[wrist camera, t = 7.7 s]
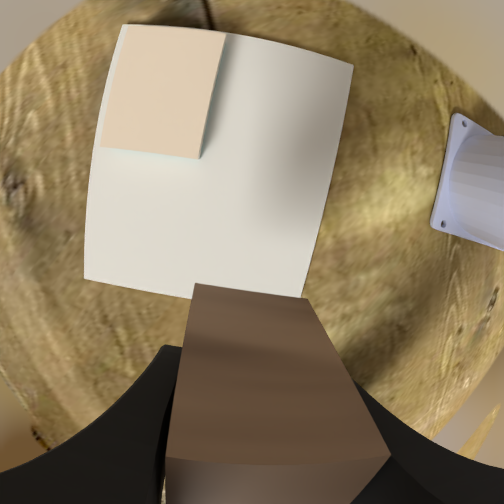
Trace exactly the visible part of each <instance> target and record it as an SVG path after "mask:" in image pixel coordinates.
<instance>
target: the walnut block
mask: <svg viewBox="0 0 504 504" xmlns="http://www.w3.org/2000/svg"><path fill="white" fill-rule="evenodd" d="M390 456H391V453H390V451H389V449H388V447H387V445H386V443H385V442H384V440H383V438H382V436H381V434H380V432H379V430H378V428H377V426H376V424H375V422H374V420H373V418H372V417H371V415H370V413H369V411H368V409H367V407H366V405H365V403H364V401H363V400H362V398H361V396H360V394H359V392H358V390H357V388H356V386H355V385H354V383H353V381H352V379H351V377H350V375H349V373H348V372H347V370H346V368H345V366H344V364H343V362H342V360H341V359H340V357H339V355H338V353H337V351H336V349H335V348H334V346H333V344H332V342H331V340H330V339H329V337H328V335H327V333H326V331H325V329H324V328H323V326H322V324H321V322H320V320H319V319H318V317H317V315H316V313H315V311H314V310H313V308H312V306H311V304H310V303H309V301H308V299H306V298H298V297H290V296H282V295H275V294H268V293H261V292H253V291H246V290H240V289H233V288H226V287H219V286H213V285H206V284H200V283H195V285H194V290H193V295H192V300H191V305H190V310H189V315H188V320H187V325H186V331H185V336H184V342H183V347H182V353H181V358H180V364H179V370H178V376H177V382H176V388H175V394H174V401H173V407H172V414H171V420H170V427H169V434H168V441H167V449H166V456H165V491H166V504H350V503H351V502H352V501H353V500H354V499H355V497H356V496H357V495H358V494H359V493H360V492H361V491H362V490H363V489H364V487H365V486H366V485H367V484H368V483H369V482H370V480H371V479H372V478H373V477H374V476H375V474H376V473H377V472H378V471H379V470H380V468H381V467H382V466H383V465H384V463H385V462H386V461H387V459H388V458H389V457H390Z"/></svg>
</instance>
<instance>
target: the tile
mask: <svg viewBox="0 0 504 504" xmlns="http://www.w3.org/2000/svg"><path fill="white" fill-rule="evenodd" d="M225 45H226V33H220V32H213V31H205V30H196V29H187V28H175V27H161V26H128V29H127V32H126V35H125V38H124V42H123V45H122V48H121V52H120V55H119V59H118V63H117V66H116V70H115V74H114V78H113V82H112V86H111V91H110V95H109V100H108V104H107V109H106V114H105V119H104V124H103V130H102V136H101V142H100V147H107V148H116V149H125V150H133V151H142V152H149V153H157V154H164V155H171V156H178V157H184V158H191V159H197V160H198V159H200V157H201V152H202V147H203V142H204V137H205V132H206V127H207V122H208V118H209V113H210V108H211V104H212V99H213V95H214V91H215V86H216V82H217V78H218V73H219V69H220V65H221V61H222V57H223V53H224V49H225Z"/></svg>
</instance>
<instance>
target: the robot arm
mask: <svg viewBox="0 0 504 504" xmlns="http://www.w3.org/2000/svg"><path fill="white" fill-rule="evenodd" d="M462 121H463V123H464V125H462ZM442 221H443V225H442V226H441V222H442ZM430 225H431V227H432V228H434V229H436V230H439V231H443V232H446V233H449V234H452V235H456V236H459V237H462V238H465V239H468V240H471V241H475V242H478V243H481V244H484V245H487V246H490V247H493V248H496V249H499V250H501V251H504V136H495V135H494V134H492V133H491V132H489V131H488V130H486V129H485V128H483V127H481V126H480V125H478V124H477V123H475V122H473V121H472V120H470V119H468V118H467V117H465V116H463V115H462V114H460V113H455V114H453V115H452V117H451V124H450V131H449V137H448V143H447V148H446V154H445V159H444V164H443V169H442V174H441V178H440V183H439V187H438V191H437V196H436V200H435V204H434V208H433V211H432V215H431V219H430ZM181 353H182V347H177V346H171V345H164V346H162V347H161V348H160V350H159V352H158V353H157V355H156V356H155V358H154V359H153V360H152V362H151V363H150V364H149V366H148V367H147V368H146V369H145V371H144V372H143V373H142V374H141V375H140V377H139V378H138V379H137V380H136V381H135V382H134V384H133V385H132V386H131V387H130V388H129V389H128V390H127V391H126V392H125V393H124V394H123V395H122V396H121V397H120V398H119V399H118V400H117V401H116V402H115V403H114V404H113V405H112V406H111V407H110V408H109V409H108V410H106V411H105V412H104V413H103V414H102V415H101V416H99V417H98V418H97V419H96V420H95V421H93V422H92V423H91V424H90V425H88V426H87V427H86V428H84V429H83V430H81V431H80V432H78V433H77V434H76V435H74V436H73V437H71V438H70V439H68V440H67V441H65V442H64V443H62V444H60V445H59V446H57V447H55V448H53V449H52V450H50V451H48V452H46V453H44V454H42V455H40V456H39V457H36V458H35V459H33V460H31V461H29V462H26V463H24V464H22V465H20V466H17V467H15V468H12V469H9V470H6V471H4V472H1V473H0V504H161V499H162V490H163V484H164V479H165V456H166V449H167V441H168V434H169V427H170V420H171V414H172V407H173V401H174V394H175V388H176V382H177V376H178V370H179V364H180V358H181ZM351 379H352V378H351ZM352 381H353V383H354V385H355V386H356V388H357V390H358V392H359V394H360V396H361V398H362V400H363V401H364V403H365V405H366V407H367V409H368V411H369V413H370V415H371V417H372V418H373V420H374V422H375V424H376V426H377V428H378V430H379V432H380V434H381V436H382V438H383V440H384V442H385V443H386V445H387V447H388V449H389V451H390V453H391V456H390V457H389V458H388V459H387V461H386V462H385V463H384V465H383V466H382V467H381V468H380V470H379V471H378V472H377V473H376V474H375V476H374V477H373V478H372V479H371V480H370V482H369V483H368V484H367V485H366V486H365V487H364V489H363V490H362V491H361V492H360V493H359V494H358V495H357V496H356V497H355V499H354V500H353V501H352V502H351V503H350V504H504V469H502V468H498V467H493V466H489V465H486V464H482V463H479V462H477V461H474V460H471V459H468V458H466V457H463V456H461V455H459V454H456V453H454V452H452V451H450V450H448V449H446V448H444V447H442V446H440V445H438V444H436V443H434V442H432V441H431V440H429V439H427V438H426V437H424V436H423V435H421V434H419V433H418V432H416V431H415V430H413V429H412V428H410V427H409V426H407V425H406V424H405V423H403V422H402V421H401V420H399V419H398V418H397V417H396V416H394V415H393V414H392V413H390V412H389V411H388V410H387V409H386V408H384V407H383V406H382V405H381V404H380V403H378V402H377V401H376V400H375V399H374V398H373V397H372V396H370V395H369V394H368V393H367V392H366V391H365V390H364V389H363V388H362V387H361V386H359V385H358V384H357V383H356V382H355V381H354V380H353V379H352Z"/></svg>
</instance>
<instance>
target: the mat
mask: <svg viewBox="0 0 504 504" xmlns="http://www.w3.org/2000/svg"><path fill="white" fill-rule="evenodd" d="M128 26H161V25H128V24H125V25H122V29H121V32H120V35H119V38H118V41H117V45H116V48H115V51H114V55H113V58H112V62H111V66H110V70H109V73H108V77H107V82H106V86H105V90H104V94H103V99H102V104H101V108H100V113H99V119H98V124H97V130H96V135H95V141H94V148H93V155H92V162H91V170H90V178H89V187H88V198H87V210H86V225H85V249H84V279H89V280H94V281H98V282H103V283H108V284H113V285H118V286H123V287H128V288H133V289H138V290H144V291H149V292H154V293H160V294H166V295H171V296H177V297H183V298H189V299H192V295H193V290H194V285H195V283H200V284H206V285H213V286H219V287H226V288H233V289H240V290H246V291H253V292H261V293H268V294H275V295H282V296H290V297H298V298H300V297H301V293H302V290H303V286H304V283H305V279H306V275H307V272H308V268H309V264H310V261H311V257H312V253H313V250H314V246H315V242H316V238H317V234H318V230H319V226H320V223H321V219H322V215H323V211H324V206H325V202H326V198H327V194H328V190H329V186H330V181H331V177H332V173H333V168H334V164H335V159H336V155H337V150H338V145H339V141H340V136H341V131H342V126H343V121H344V116H345V111H346V106H347V101H348V96H349V90H350V85H351V79H352V74H353V68H354V65H352V64H349V63H346V62H343V61H340V60H337V59H334V58H331V57H328V56H325V55H322V54H319V53H315V52H312V51H308V50H305V49H301V48H297V47H294V46H290V45H286V44H282V43H278V42H273V41H269V40H264V39H260V38H255V37H250V36H244V35H239V34H233V33H227V32H220V31H213V30H206V29H197V28H188V27H176V26H161V27H175V28H187V29H196V30H205V31H213V32H220V33H226V45H225V49H224V53H223V57H222V61H221V65H220V69H219V73H218V78H217V82H216V86H215V91H214V95H213V99H212V104H211V108H210V113H209V118H208V122H207V127H206V132H205V137H204V142H203V147H202V152H201V157H200V159H198V160H197V159H191V158H184V157H178V156H171V155H164V154H157V153H149V152H142V151H133V150H125V149H116V148H107V147H100V142H101V136H102V130H103V124H104V119H105V114H106V109H107V104H108V100H109V95H110V91H111V86H112V82H113V78H114V74H115V70H116V66H117V63H118V59H119V55H120V52H121V48H122V45H123V42H124V38H125V35H126V32H127V29H128Z"/></svg>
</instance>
